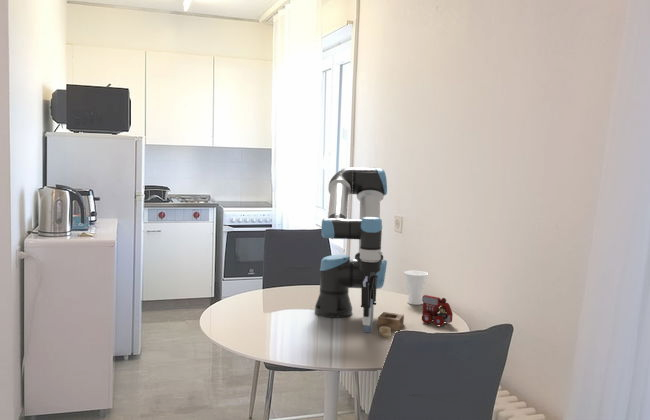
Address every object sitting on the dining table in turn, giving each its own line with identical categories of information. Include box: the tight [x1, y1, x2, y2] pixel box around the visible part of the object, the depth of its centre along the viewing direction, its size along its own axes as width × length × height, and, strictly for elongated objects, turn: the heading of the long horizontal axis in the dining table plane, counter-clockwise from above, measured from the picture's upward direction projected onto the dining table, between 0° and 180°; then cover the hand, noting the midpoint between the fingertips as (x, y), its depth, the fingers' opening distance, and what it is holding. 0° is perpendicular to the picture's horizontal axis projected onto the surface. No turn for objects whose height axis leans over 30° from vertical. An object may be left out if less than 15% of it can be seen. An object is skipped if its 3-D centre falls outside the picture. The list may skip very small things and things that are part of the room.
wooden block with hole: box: [377, 311, 405, 331], centre depth 215 cm, size 8×8×4 cm
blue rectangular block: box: [363, 299, 373, 334], centre depth 207 cm, size 3×3×12 cm
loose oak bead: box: [378, 326, 392, 339], centre depth 203 cm, size 4×4×3 cm
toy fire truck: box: [421, 294, 454, 327], centre depth 220 cm, size 7×12×10 cm, turn 54°
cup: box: [403, 269, 429, 306], centre depth 249 cm, size 10×10×14 cm
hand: (367, 323), depth 207 cm, fingers closed on blue rectangular block, 3 cm apart
